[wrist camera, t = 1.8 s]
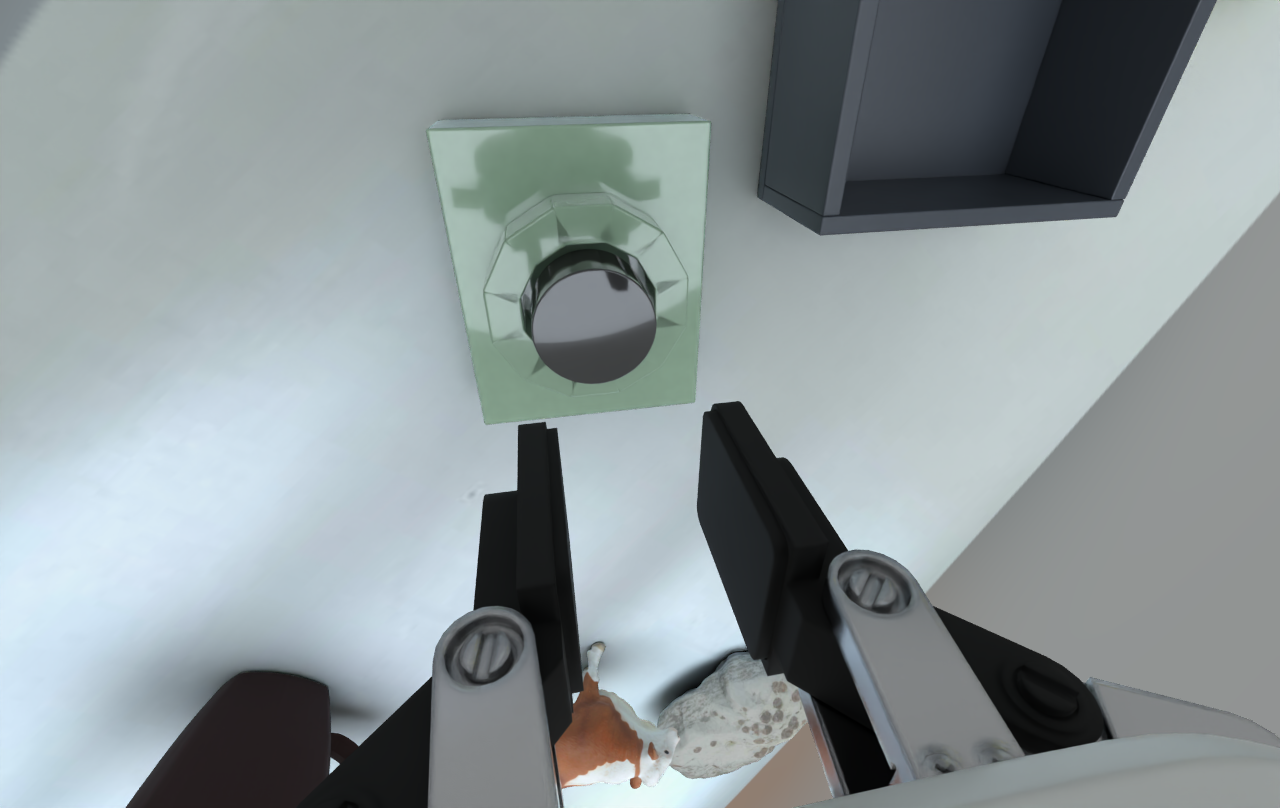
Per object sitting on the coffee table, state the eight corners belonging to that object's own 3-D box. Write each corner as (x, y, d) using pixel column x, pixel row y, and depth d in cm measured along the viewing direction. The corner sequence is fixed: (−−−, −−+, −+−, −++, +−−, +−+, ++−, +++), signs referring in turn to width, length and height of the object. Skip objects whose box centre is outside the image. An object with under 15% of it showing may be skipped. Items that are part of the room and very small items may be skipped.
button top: (523, 252, 17) (523, 273, 16) (645, 244, 18) (657, 264, 16) (537, 361, 20) (538, 390, 18) (645, 351, 20) (656, 378, 19)
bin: (799, -202, 16) (912, -308, 11) (1124, -182, 17) (1340, -266, 13) (756, 197, 22) (819, 236, 17) (1000, 185, 24) (1117, 217, 19)
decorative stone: (743, 732, 47) (764, 798, 43) (631, 725, 43) (643, 797, 39) (823, 646, 41) (857, 711, 37) (705, 629, 37) (727, 700, 33)
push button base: (436, 119, 19) (414, 136, 15) (690, 113, 20) (729, 126, 16) (488, 392, 25) (481, 452, 21) (680, 373, 26) (707, 426, 22)
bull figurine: (662, 661, 39) (692, 789, 32) (476, 710, 38) (466, 853, 31) (653, 625, 36) (683, 756, 29) (454, 677, 35) (439, 824, 29)
